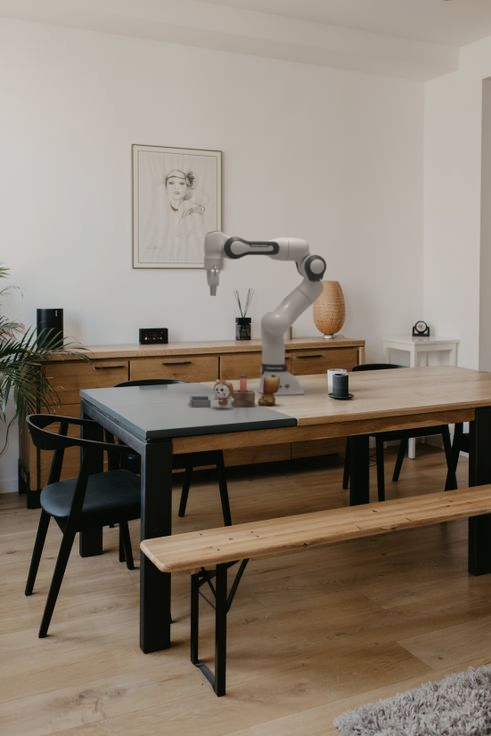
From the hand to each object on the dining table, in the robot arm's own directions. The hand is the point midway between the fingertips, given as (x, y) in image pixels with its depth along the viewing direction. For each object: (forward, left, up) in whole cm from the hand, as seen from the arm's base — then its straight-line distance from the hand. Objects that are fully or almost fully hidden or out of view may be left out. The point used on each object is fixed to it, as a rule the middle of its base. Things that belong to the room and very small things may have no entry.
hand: (213, 295), depth 325 cm
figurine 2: (-22, +33, -47) cm, 61 cm away
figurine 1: (-1, +41, -47) cm, 62 cm away
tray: (+8, +33, -46) cm, 57 cm away
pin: (-10, +34, -46) cm, 58 cm away
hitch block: (-10, +34, -46) cm, 58 cm away
